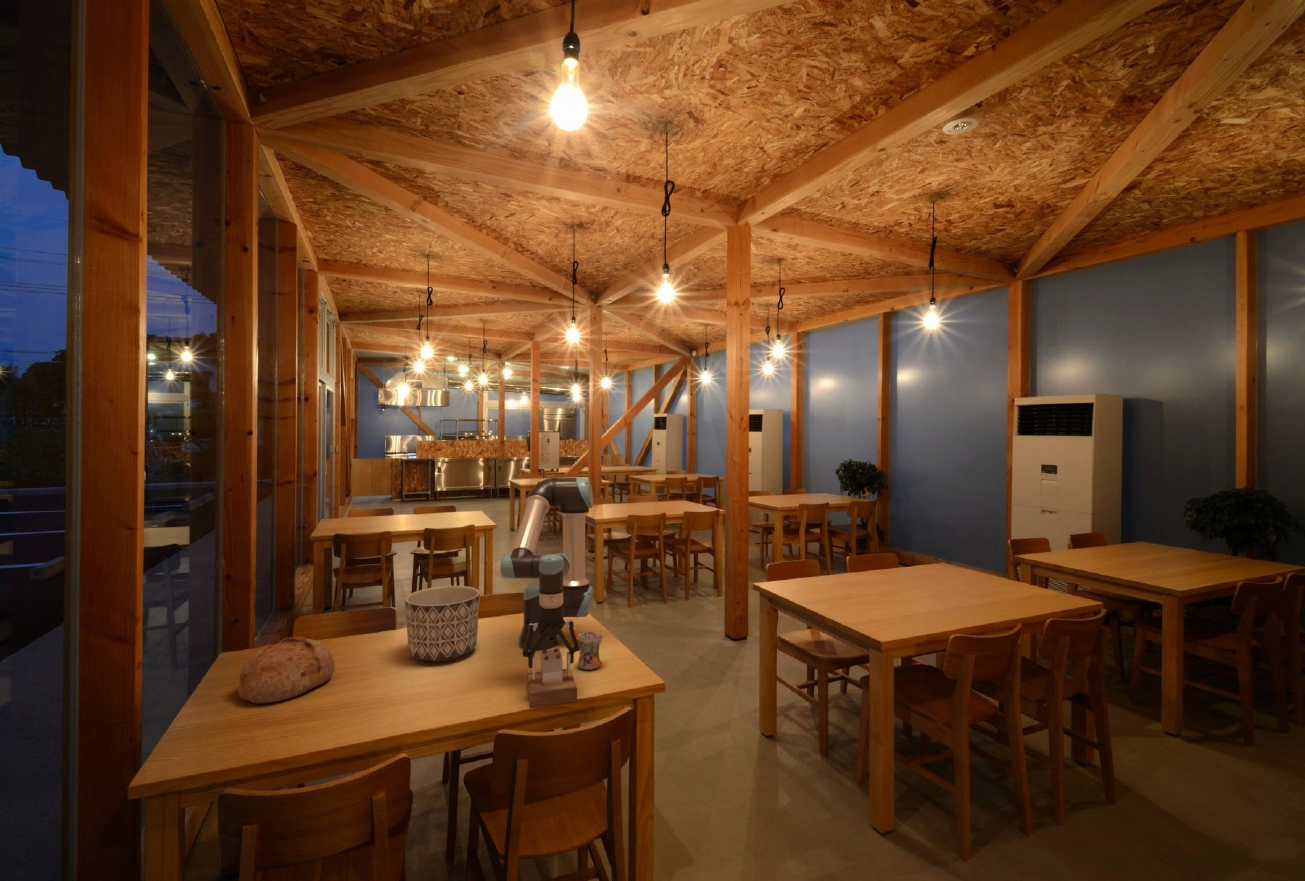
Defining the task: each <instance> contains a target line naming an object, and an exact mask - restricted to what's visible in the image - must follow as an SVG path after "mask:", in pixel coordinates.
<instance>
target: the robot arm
mask: <svg viewBox="0 0 1305 881" xmlns="http://www.w3.org/2000/svg"><path fill="white" fill-rule="evenodd" d="M593 494H594V493H593V487H592V483H591V481H590V480H589V479H588V478H585V477H584V478H583V477H548V478H546V479H544V480H541V481H539V482H538V483H537V484H535V485H534V486H533V487H532V488H531V490H530V491H529V492H528V494H527V495H526V498H525V501H524V504H523V505H524V508H525V509H524V512H523V516H522V519H521V522H520V526H519V528H518V532H517V535H516V538H515V542H514V544H513V547H512V550H511V554H505V555H503V557H501V561H500V565H499V566H500V574H501V577H503V578H506V579H513V580H516V579H538V581H537V582H533V583H531V584H528V585H527V586H526V587H525V588H524V590H523V598H522V600H523V626H522V629H521V632H520V635H519V637H518V638H519V639H518V645H519V647H520V648H522V652H521V654H522V656H523V657H524V658H528V663H527V664H528V666H527V667H528V669H531V673H532V679H533V680H535V672H536V656H535V654H536V652H537V651H543V650H549V649H551V648H554V647H555V646H557V645H558V644H559V638H560V639H561V641H562V642H563V644H564V645H565V647H566V648H567V650H568V651H566V669H567V674H568V676H569V675H570V670H571V664H574V663H575V661H574V660H575V657H574V656H575V653H576V652H580V649H579V645H578V642H577V639H576V636H577V635H576V633H575V630H574V620H573V619H572V618H577V619H578V618H585V617H588V616H589V614H590V611H591V607H592V601H593V593H594V587H593V586H592V585H590V581H589V579H587V578H586V517H587V515H588V514H589V513H590V509H592V508H593V507H594V495H593ZM551 508H555V509H556V508H558V512H559V514H560V515H561V516H562V520H563V521H562V527H563V528H562V553H561V552H558V553H557V552H556V553H554V554H553V553H550V554H545V555H541V554H540V555H539V554H538V555H535V553H536V550H537V545H538V543H539V542H538V541H539V538H540V534H541V531H542V527H543V524H544V523H543V522H544V519H545V516H546V514H547V513H548V512H549V511H550V509H551ZM564 618H571V619H569V620H565V619H564ZM564 626H566V628H567V629H568V630H569V633H570V636H571V639H572V643H573V646H572V645H571V644H570V642H569V640H568V639H567V637H566V636H565V634H564V632H563V630H562V629H563V628H564Z"/></svg>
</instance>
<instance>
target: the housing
mask: <svg viewBox="0 0 1305 881" xmlns="http://www.w3.org/2000/svg"><path fill="white" fill-rule="evenodd" d="M539 651H540V652H539V654H540V660H539V661H540V665H539V666H540V671H539V672H540V676H541V681H542V685H543V686H551V685H559V684H562V669H563V655H562V653H561V650H560V648H554V649H553V648H552V649H543V650H539Z"/></svg>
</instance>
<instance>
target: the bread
mask: <svg viewBox="0 0 1305 881" xmlns="http://www.w3.org/2000/svg"><path fill="white" fill-rule="evenodd" d="M334 671H335V660H334V658H333V656H332V653H331V651H330V650H329V648H328V647H326V646H325V645H324V643H322V642H320V641H318V640H316V639H311V638H307V637H304V636H292V637H291V636H289V637H288V636H287V637H284V638H282V639H281V640H279V641H278V642H277V643H276V644H271V643H270V644H266V645H264V646H262V647H261V648H259V649H258V650H256V651H255V652H254V653H253V654H252V655H251V656H250V657H248V658H247V660H246V661H245V663H244V665H242V668H241V670H240V672H239V684H238V688H237V692H238V693H237V694H238V697H240V698H241V699H242V700H243V701H244V702H250V703H252V704H272V703H273V704H274V703H278V702H283V701H285V700H288V699H292V698H294V697H298V696H300V695H302V694H304V693H306V692H308V691H309V690H310V691H311V690H312V689H314V688H315V687H318V686H320V685H324V683H326V682H327V681H329V680H330V679H331V677H332V676H333V674H334Z"/></svg>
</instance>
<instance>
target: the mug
mask: <svg viewBox="0 0 1305 881" xmlns="http://www.w3.org/2000/svg"><path fill="white" fill-rule="evenodd" d="M575 636H576V639H577V642H578V645H579V649H580V650H579V657H578V661H577V663H576V665H577V668H579V669H580V670H588V671H589V670H590V671H591V670H595V669H598V668H600V667H601V665H602V662H601V659H600V652H599V651H600V646H601V642H602V639H603V635H602V634H601V633H599V632H597V631H596V632H595V631H586V632H584V631H583V632H582V633H578V634H576V635H575Z"/></svg>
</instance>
